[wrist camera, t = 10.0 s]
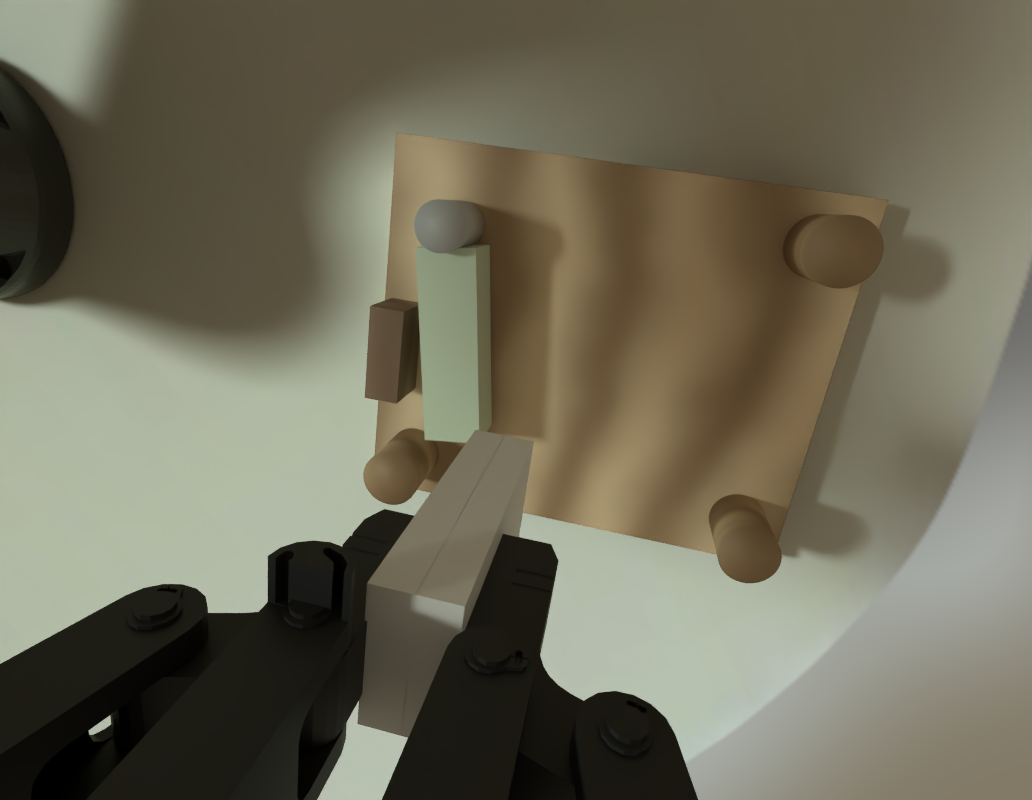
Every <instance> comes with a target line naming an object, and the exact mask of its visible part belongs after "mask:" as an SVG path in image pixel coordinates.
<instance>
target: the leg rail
mask: <svg viewBox="0 0 1032 800" xmlns="http://www.w3.org/2000/svg"><path fill="white" fill-rule="evenodd" d="M414 230H415V234H416V237H417V239H418V241H419V242H420V243H421V245H422V246H421V247H416V267H417V288H418V309H419V330H420V351H421V372H422V393H423V414H424V435H425V440H433V441H448V442H462V443H466V442H467V441H468V440H469V438H470V437H471V435H472V434H473V433H474V431H475V430H479V431H484V432H487V431H488V430H489V428H490V426H491V425H492V405H491V315H490V245H474V244H476V243H477V242H478V241H479V240H480V238H481V237H482V234H483V231H484V219H483V216H482V213H481V212H480V210H479V209H478V208H477V207H476V206H475V205H474V204H472V203H470V202H468V201H462V200H442V199H435V200H431V201H428V202H426V203H425V204H424V205H422V206H421V207H420V209H419V210H418V212H417V214H416V216H415V221H414Z"/></svg>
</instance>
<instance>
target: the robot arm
mask: <svg viewBox="0 0 1032 800" xmlns="http://www.w3.org/2000/svg"><path fill="white" fill-rule="evenodd" d="M71 226H72V193H71V185H70V180H69V175H68V171H67V167H66V164H65V161H64V157H63V155H62V152H61V149H60V146H59V144H58V142H57V140H56V137H55V135H54V133H53V131H52V129H51V127H50V126H49V124H48V122H47V120H46V119H45V117H44V115H43V114H42V112H41V111H40V109H39V108H38V106H37V105H36V104H35V102H34V101H33V100H32V98H31V97H30V96H29V95H28V94H27V92H26V91H25V90H24V89H23V88H22V87H21V86H20V85H19V84H18V83H17V82H16V81H15V80H14V79H13V78H12V77H11V76H10V75H9V74H7V73H6V72H5V71H4V70H3V69H1V68H0V299H1V298H8V297H14V296H19V295H22V294H25V293H27V292H30V291H32V290H34V289H35V288H37V287H39V286H40V285H41V284H43V283H44V282H45V281H46V280H47V279H48V278H49V277H50V276H51V275H52V274H53V272H54V271H55V270H56V268H57V267H58V265H59V264H60V262H61V260H62V258H63V256H64V253H65V251H66V248H67V245H68V242H69V238H70V233H71ZM533 445H534V441H529V440H524V439H519V438H514V437H509V436H504V435H499V434H494V433H489V432H484V431H479V430H475V431H474V433H473V434H472V435H471V437H470V438H469V440H468V441H467V442H466V444H465V445H464V447H463V448H462V449H461V451H460V452H459V454H458V455H457V457H456V458H455V459H454V461H453V462H452V464H451V465H450V466H449V468H448V469H447V471H446V472H445V474H444V475H443V476H442V478H441V479H440V481H439V482H438V483H437V485H436V486H435V488H434V489H433V491H432V492H431V493H430V495H429V496H428V498H427V499H426V500H425V502H424V503H423V505H422V506H421V508H420V509H419V510H418V512H417V513H416V515H415V516H413V515H408V514H404V513H399V512H395V511H390V510H386V509H384V510H382V511H380V512H378V513H376V514H374V515H372V516H370V517H368V518H366V519H365V520H364V521H363V522H362V523H361V524H360V525H359V526H358V528H357V529H356V530H355V531H354V532H353V535H352V536H350V537H349V538H348V539H347V540H346V542H345V543H344V544H343V547H341V546H339V545H336V544H333V543H331V542H322V541H306V542H296V543H293V544H290V545H287V546H284V547H281V548H279V549H278V550H276V551H275V552H273V553H272V554H270V555H269V556H268V602H267V604H266V605H265V606H264V607H263V608H262V609H261V610H260V611H259V612H253V613H208V607H207V602H206V597H205V596H204V595H203V594H202V593H201V592H200V591H198V590H197V589H196V588H192V587H189V586H185V585H182V584H162V585H157V586H152V587H147V588H143V589H141V590H138V591H136V592H133V593H131V594H128V595H126V596H124V597H122V598H120V599H119V600H117V601H115V602H113V603H111V604H109V605H108V606H106V607H104V608H102V609H100V610H98V611H97V612H95V613H93V614H91V615H89V616H87V617H86V618H84V619H82V620H80V621H78V622H76V623H75V624H73V625H71V626H69V627H67V628H65V629H64V630H62V631H60V632H58V633H56V634H54V635H53V636H51V637H49V638H47V639H45V640H43V641H42V642H40V643H38V644H36V645H34V646H32V647H31V648H29V649H27V650H25V651H23V652H21V653H20V654H18V655H16V656H14V657H12V658H10V659H9V660H7V661H5V662H3V663H1V664H0V800H317V799H318V797H319V795H320V793H321V791H322V789H323V787H324V785H325V784H326V782H327V780H328V778H329V776H330V774H331V772H332V770H333V768H334V767H335V765H336V763H337V761H338V759H339V757H340V755H341V753H342V750H343V746H344V743H345V739H346V722H347V720H348V719H349V717H350V715H351V713H352V711H353V710H354V708H355V706H356V704H357V702H358V701H359V710H358V724H360V725H364V726H368V727H371V728H375V729H379V730H382V731H386V732H390V733H393V734H397V735H401V736H404V737H408V740H407V742H406V744H405V747H404V749H403V752H402V754H401V756H400V759H399V761H398V763H397V766H396V768H395V770H394V773H393V775H392V777H391V780H390V782H389V784H388V787H387V789H386V791H385V794H384V796H383V798H382V800H698V799H697V796H696V792H695V790H694V787H693V784H692V781H691V778H690V776H689V773H688V770H687V767H686V764H685V761H684V758H683V756H682V753H681V750H680V747H679V744H678V741H677V739H676V736H675V733H674V732H673V730H672V728H671V726H670V725H669V723H668V721H667V719H666V718H665V717H664V716H663V715H662V714H661V713H660V712H659V711H658V710H657V709H656V708H654V707H653V706H652V705H651V704H649V703H648V702H646V701H644V700H642V699H640V698H638V697H636V696H634V695H631V694H626V693H621V692H617V691H612V692H602V693H597V694H595V695H594V696H592V697H590V698H588V699H586V700H585V701H583V700H581V699H579V698H577V697H575V696H574V695H572V694H570V693H569V692H567V691H566V690H564V689H563V688H561V687H560V686H558V685H557V684H556V683H555V681H554V680H553V679H552V678H551V677H550V676H549V675H548V673H547V672H546V670H545V668H544V667H543V664H542V661H541V657H540V653H541V648H542V643H543V638H544V633H545V629H546V624H547V618H548V613H549V608H550V603H551V597H552V592H553V587H554V581H555V576H556V571H557V565H558V559H557V557H556V554H555V552H554V550H553V548H552V545H551V544H547V543H542V542H538V541H533V540H529V539H524V538H520V537H519V532H520V526H521V520H522V513H523V507H524V501H525V495H526V488H527V482H528V476H529V470H530V464H531V457H532V451H533ZM109 715H111V725H110V726H109V727H107V728H106V729H104V730H102V731H100V732H98V733H96V734H94V735H89V731H88V730H90V729H91V728H92V727H94V726H95V725H97V724H98V723H99V722H101V721H102V720H104V719H105V718H106V717H108V716H109Z"/></svg>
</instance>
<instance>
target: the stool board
mask: <svg viewBox="0 0 1032 800" xmlns="http://www.w3.org/2000/svg"><path fill="white" fill-rule="evenodd" d="M435 199H442V200H462V201H468V202H470V203H472V204H474V205H475V206H476V207H477V208H478V209H479V210H480V212H481V213H482V216H483V219H484V231H483V234H482V237H481V238H480V240H479V241H478V242H477V243H476V244H474V245H490V315H491V405H492V425H491V426H490V428H489V430H488V431H487V432H489V433H494V434H499V435H504V436H509V437H514V438H519V439H524V440H529V441H534V445H533V451H532V457H531V464H530V470H529V476H528V482H527V488H526V495H525V501H524V507H523V513H527V514H532V515H537V516H541V517H546V518H551V519H555V520H560V521H564V522H569V523H574V524H578V525H583V526H587V527H592V528H597V529H601V530H606V531H611V532H615V533H620V534H624V535H629V536H634V537H638V538H643V539H648V540H652V541H657V542H661V543H666V544H671V545H675V546H680V547H685V548H689V549H694V550H698V551H703V552H708V553H712V554H717V557H718V561H719V564H720V567H721V568H722V570H723V571H724V573H725V574H727V575H728V576H729V577H730V578H732V579H734V580H736V581H739V582H743V583H757V582H761V581H764V580H766V579H768V578H769V577H771V576H772V575H773V574H774V573H775V572H776V571H777V570H778V568H779V566H780V564H781V558H782V556H781V550H780V548H779V545H778V540H779V537H780V533H781V530H782V527H783V524H784V521H785V518H786V515H787V512H788V509H789V506H790V503H791V500H792V496H793V493H794V490H795V487H796V484H797V481H798V478H799V475H800V472H801V469H802V466H803V463H804V459H805V456H806V453H807V450H808V447H809V444H810V441H811V438H812V435H813V432H814V429H815V426H816V422H817V419H818V416H819V413H820V410H821V407H822V404H823V401H824V398H825V395H826V392H827V389H828V385H829V382H830V379H831V376H832V373H833V370H834V367H835V364H836V361H837V358H838V355H839V351H840V348H841V345H842V342H843V339H844V336H845V333H846V330H847V327H848V324H849V321H850V318H851V314H852V311H853V308H854V305H855V302H856V299H857V296H858V293H859V290H860V287H861V284H862V282H863V281H864V280H866V279H867V278H868V277H869V276H870V275H871V274H872V273H873V272H874V271H875V269H876V268H877V267H878V265H879V263H880V260H881V258H882V254H883V239H882V236H881V234H880V232H879V228H880V225H881V222H882V219H883V216H884V213H885V210H886V206H887V203H888V200H884V199H877V198H870V197H862V196H855V195H848V194H841V193H833V192H826V191H819V190H811V189H804V188H797V187H790V186H782V185H775V184H768V183H760V182H753V181H746V180H738V179H731V178H724V177H717V176H709V175H702V174H695V173H687V172H680V171H673V170H666V169H658V168H651V167H644V166H636V165H629V164H622V163H615V162H607V161H600V160H593V159H585V158H578V157H571V156H564V155H556V154H549V153H542V152H534V151H527V150H520V149H513V148H505V147H498V146H491V145H483V144H476V143H469V142H462V141H454V140H447V139H440V138H432V137H425V136H418V135H411V134H403V133H396V147H395V162H394V177H393V191H392V206H391V221H390V236H389V251H388V266H387V281H386V295H385V301H382V302H380V303H377V304H374V305H372V306H370V320H369V336H368V353H367V370H366V387H365V398H370V399H375V400H378V414H377V429H376V444H375V455H374V456H373V457H372V458H371V459H370V460H369V461H368V463H367V464H366V466H365V469H364V482H365V485H366V487H367V489H368V491H369V492H370V493H371V495H372V496H373V497H375V498H376V499H377V500H379V501H381V502H383V503H386V504H391V505H396V504H401V503H404V502H406V501H407V500H409V499H410V498H411V497H412V495H413V494H414V493H415V492H416V490H421V491H426V492H430V493H431V492H432V491H433V489H434V488H435V486H436V485H437V483H438V482H439V481H440V479H441V478H442V476H443V475H444V474H445V472H446V471H447V469H448V468H449V466H450V465H451V464H452V462H453V461H454V459H455V458H456V457H457V455H458V454H459V452H460V451H461V449H462V448H463V447H464V445H465V444H466V443H462V442H448V441H433V440H425V435H424V414H423V393H422V372H421V351H420V330H419V309H418V288H417V267H416V247H421V246H422V245H421V243H420V242H419V241H418V239H417V237H416V234H415V230H414V221H415V216H416V214H417V212H418V210H419V209H420V207H421V206H422V205H424V204H425V203H426V202H428V201H431V200H435Z"/></svg>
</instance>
